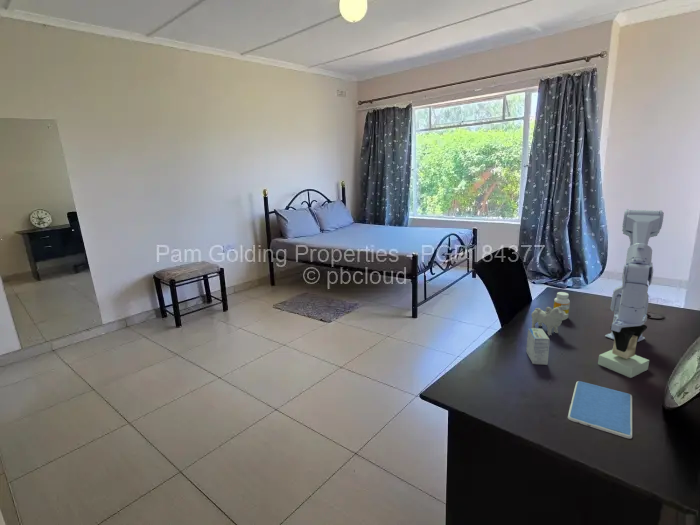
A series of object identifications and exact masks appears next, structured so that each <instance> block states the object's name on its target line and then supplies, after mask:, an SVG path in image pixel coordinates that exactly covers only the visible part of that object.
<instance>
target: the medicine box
mask: <svg viewBox="0 0 700 525" xmlns="http://www.w3.org/2000/svg"><path fill="white" fill-rule="evenodd" d="M550 343H551V342H550V338H549V335H547V334H546V332H545V331H544V329H543V328H538V327H536V328H532V327H531V328H530V327H529V328H528V329H527V339H526V348H525V350H526V351H525V352H526V354H527V356H528V358H529V359H530V361H531V364H532V365H545V366H548V364H549V363H548V362H549V353H550Z"/></svg>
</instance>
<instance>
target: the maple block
mask: <svg viewBox="0 0 700 525" xmlns="http://www.w3.org/2000/svg"><path fill="white" fill-rule="evenodd" d="M637 338H638V337H637V336H634V335H633V336H632V337H631V339H630V341H629V344H628V347H627V349H626V351H625V352H622V351H619V350H617V349H616V343H615V338H614V339H613V346H612V349H613V351H612V353H613V354H615V355H618V356H620V357H623V358H626V359H628V358H630V357H632V356H634V355H636V348H637V344H638V342H637Z"/></svg>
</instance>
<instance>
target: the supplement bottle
mask: <svg viewBox="0 0 700 525" xmlns="http://www.w3.org/2000/svg"><path fill="white" fill-rule="evenodd" d="M569 296H570V295H569V293H568V292H564V291H559V292H557V293H556V297H555V298H554V299H553V300H554V301H553V308H552V309H554V308H556V307H560V306H562V307H563V308H562V310H563V311H565V313H566V314H568V315H569V314H570V306H571V305H570V304H571V301H570V299H569Z"/></svg>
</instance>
